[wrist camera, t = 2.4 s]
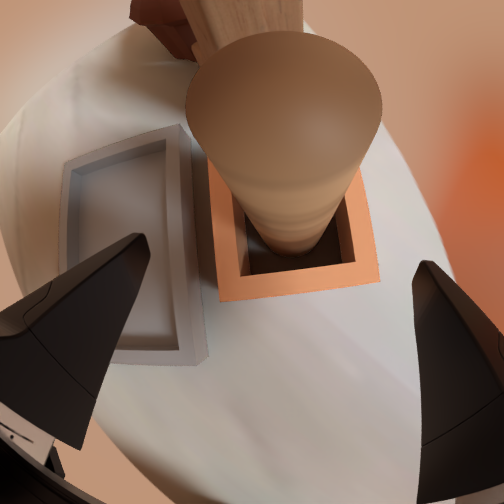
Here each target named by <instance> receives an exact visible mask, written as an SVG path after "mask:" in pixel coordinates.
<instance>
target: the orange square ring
mask: <svg viewBox="0 0 504 504" xmlns="http://www.w3.org/2000/svg"><path fill="white" fill-rule="evenodd" d="M207 159H208V174H209V189H210V202H211V215H212V227H213V238H214V249H215V259H216V270H217V279H218V289H219V298H220V302H227V301H237V300H247V299H256V298H265V297H274V296H283V295H291V294H299V293H307V292H314V291H322V290H329V289H336V288H343V287H350V286H357V285H363V284H369V283H376V282H380V276H379V268H378V261H377V254H376V247H375V241H374V235H373V229H372V223H371V218H370V213H369V208H368V203H367V198H366V193H365V189H364V184H363V180H362V176H361V172H360V167H359V168H358V170H357V172H356V174H355V176H354V178H353V180H352V181H351V183H350V185H349V187H348V189H347V191H346V193H345V195H344V196H343V198H342V200H341V202H340V204H339V206H338V207H337V209H336V211H335V219H336V225H337V231H338V238H339V244H340V251H341V258H342V264H337V265H329V266H322V267H314V268H307V269H299V270H291V271H283V272H275V273H267V274H259V275H251V272H250V263H249V254H248V245H247V236H246V227H245V218H244V210H243V209H242V207H241V206H240V204H239V203H238V201H237V200H236V198H235V197H234V195H233V194H232V192H231V191H230V189H229V188H228V186H227V185H226V183H225V182H224V180H223V179H222V177H221V176H220V174H219V173H218V171H217V170H216V168H215V167H214V165H213V164H212V162H211V161H210V159H209V158H208V157H207Z"/></svg>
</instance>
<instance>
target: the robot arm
mask: <svg viewBox="0 0 504 504" xmlns="http://www.w3.org/2000/svg"><path fill="white" fill-rule="evenodd" d="M150 257H151V252H150V249H149V245H148V242H147V238H146V235H145V234H144V233H137V232H133V233H131V234H129V235H127V236H126V237H124V238H122V239H120V240H118V241H117V242H115V243H113V244H111V245H110V246H108V247H106V248H104V249H103V250H101V251H99V252H97V253H96V254H94V255H92V256H91V257H89V258H87V259H86V260H84V261H82V262H81V263H79V264H77V265H76V266H74V267H72V268H71V269H69V270H67V271H66V272H64V273H63V274H61V275H59V276H58V277H56V278H55V279H53V281H50V282H48V283H47V284H45V285H44V286H42V287H41V288H39V289H37V290H36V291H34V292H33V293H31V294H29V295H28V296H26V297H24V298H23V299H21V300H19V301H18V302H16V303H14V304H13V305H11V306H9V307H7V308H6V309H4V310H3V311H1V312H0V504H106V503H104V502H102V501H100V500H98V499H96V498H94V497H92V496H90V495H89V494H87V493H85V492H84V491H82V490H80V489H78V488H77V487H75V486H73V485H72V484H70V483H68V482H67V481H66V480H64V477H65V473H64V470H63V468H62V465H61V462H60V459H59V456H58V453H57V450H56V448H55V447H54V446H53V443H54V441H55V439H58V440H60V441H62V442H64V443H66V444H67V445H69V446H71V447H73V448H75V449H77V450H81V448H82V445H83V442H84V438H85V435H86V431H87V428H88V425H89V421H90V419H91V415H92V412H93V409H94V406H95V403H96V399H97V397H98V394H99V391H100V388H101V385H102V383H103V380H104V377H105V374H106V372H107V369H108V366H109V364H110V361H111V358H112V356H113V353H114V351H115V348H116V346H117V343H118V341H119V338H120V336H121V333H122V331H123V328H124V326H125V324H126V321H127V319H128V316H129V314H130V312H131V310H132V307H133V305H134V303H135V300H136V298H137V296H138V293H139V290H140V287H141V284H142V281H143V278H144V275H145V272H146V270H147V267H148V264H149V261H150ZM412 294H413V309H414V327H415V335H416V343H417V352H418V362H419V373H420V388H421V415H422V436H421V446H422V447H421V459H420V474H419V485H418V494H417V504H427V503H433V502H439V501H444V500H448V499H453V498H455V504H504V336H503V334H502V333H501V332H500V331H499V330H498V328H496V326H495V325H494V324H493V323H492V321H491V320H490V319H489V318H488V317H487V316H486V315H485V313H484V312H483V311H482V310H481V309H480V308H479V307H478V306H477V305H476V304H475V303H474V301H473V300H472V299H471V298H470V297H469V296H468V295H467V294H466V293H465V292H464V291H463V290H462V289H461V288H460V287H459V286H458V285H457V284H456V283H455V282H454V281H453V280H452V279H451V278H450V277H449V276H448V275H447V274H446V273H445V272H444V271H443V270H442V269H441V268H440V267H439V266H438V265H437V264H436V263H435V262H433V261H429V260H422V261H421V262H420V264H419V266H418V268H417V271H416V273H415V275H414V277H413V280H412Z"/></svg>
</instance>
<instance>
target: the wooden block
mask: <svg viewBox="0 0 504 504" xmlns="http://www.w3.org/2000/svg"><path fill="white" fill-rule="evenodd" d="M179 2H180V4H181V6H182V8H183V10H184V13H185V15H186V17H187V19H188V22H189V24H190V26H191V28H192V31H193V33H194V35H195V37H196V40H197V42H196V43H194V44H193V45H192V52H193V54H194V56H195V58H196V60H197V62H198V64H199V66H200V67H201V66H202V65H203V64H204V63H205V62H206V61H207V60H208V59H209V58H210V57H211V56H212V55H213V54H215V53H216V52H217V51H218V50H220V49H222V48H223V47H225V46H226V45H228V44H230V43H232V42H234V41H236V40H239V39H241V38H244V37H247V36H250V35H254V34H258V33H264V32H271V31H296V32H303V3H302V0H179Z"/></svg>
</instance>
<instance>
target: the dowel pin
mask: <svg viewBox="0 0 504 504" xmlns="http://www.w3.org/2000/svg"><path fill="white" fill-rule="evenodd" d="M185 108H186V118H187V121H188V125H189V128H190V130H191V132H192V134H193V136H194V137H195V139H196V140H197V142H198V143H199V145H200V146H201V148H202V149H203V151H204V152H205V154H206V155H207V157H208V158H209V159H210V161H211V162H212V164H213V165H214V167H215V168H216V170H217V171H218V173H219V174H220V176H221V177H222V179H223V180H224V182H225V183H226V185H227V186H228V188H229V189H230V191H231V192H232V194H233V195H234V197H235V198H236V200H237V201H238V203H239V204H240V206H241V207H242V209H243V210H244V212H245V213H246V215H247V216H248V218H249V219H250V221H251V222H252V224H253V225H254V227H255V228H256V230H257V231H258V233H259V234H260V236H261V237H262V239H263V240H264V242H265V244H266V245H267V246H268V248H269V249H270V250H272V251H273V252H274V253H276V254H278V255H280V256H283V257H287V258H296V257H300V256H303V255H305V254H307V253H309V252H310V251H311V250H312V249H313V248H314V247H315V246H316V245H317V243H318V241H319V240H320V238H321V236H322V234H323V233H324V231H325V229H326V227H327V225H328V224H329V222H330V220H331V218H332V217H333V215H334V213H335V211H336V209H337V207H338V206H339V204H340V202H341V200H342V198H343V196H344V195H345V193H346V191H347V189H348V187H349V185H350V183H351V181H352V180H353V178H354V176H355V174H356V172H357V170H358V168H359V166H360V164H361V162H362V160H363V158H364V156H365V155H366V153H367V151H368V149H369V147H370V145H371V143H372V141H373V139H374V137H375V135H376V133H377V130H378V127H379V125H380V122H381V116H382V99H381V93H380V90H379V87H378V84H377V82H376V80H375V78H374V76H373V75H372V73H371V72H370V70H369V69H368V68H367V66H366V65H365V64H364V63H363V62H362V61H361V60H360V59H359V58H358V57H357V56H356V55H354V54H353V53H352V52H350V51H349V50H348V49H346V48H345V47H343V46H341V45H339V44H337V43H335V42H333V41H331V40H329V39H326V38H323V37H320V36H317V35H314V34H309V33H304V32H296V31H271V32H264V33H258V34H254V35H250V36H247V37H244V38H241V39H239V40H236V41H234V42H232V43H230V44H228V45H226V46H225V47H223V48H222V49H220V50H218V51H217V52H216V53H215V54H213V55H212V56H211V57H210V58H209V59H208V60H207V61H206V62H205V63H204V64H203V65H202V66H201V67H200V68H199V70H198V71H197V73H196V74H195V76H194V78H193V79H192V81H191V84H190V86H189V89H188V92H187V96H186V106H185Z"/></svg>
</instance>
